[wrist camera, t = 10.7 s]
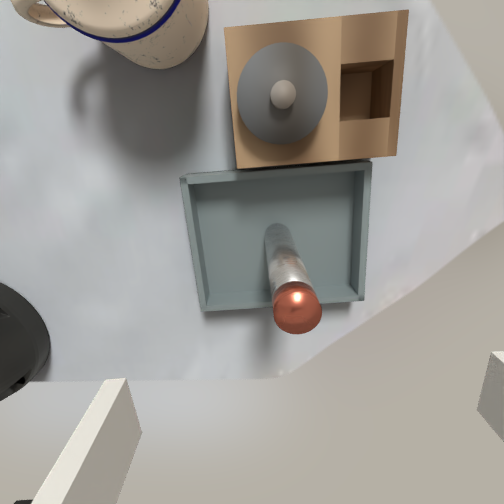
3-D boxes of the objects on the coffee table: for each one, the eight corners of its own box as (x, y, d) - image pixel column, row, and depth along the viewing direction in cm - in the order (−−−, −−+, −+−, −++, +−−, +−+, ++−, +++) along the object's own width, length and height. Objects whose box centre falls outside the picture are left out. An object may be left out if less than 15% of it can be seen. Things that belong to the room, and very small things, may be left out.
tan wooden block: (239, 163, 27) (235, 171, 21) (229, 49, 24) (220, 13, 17) (371, 152, 27) (411, 157, 20) (378, 35, 24) (428, -7, 17)
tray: (205, 296, 32) (201, 311, 29) (186, 173, 28) (179, 177, 25) (354, 286, 32) (364, 300, 29) (360, 159, 27) (372, 161, 24)
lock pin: (265, 249, 30) (275, 335, 17) (263, 224, 29) (272, 294, 16) (291, 247, 30) (321, 332, 17) (290, 222, 29) (322, 290, 16)
